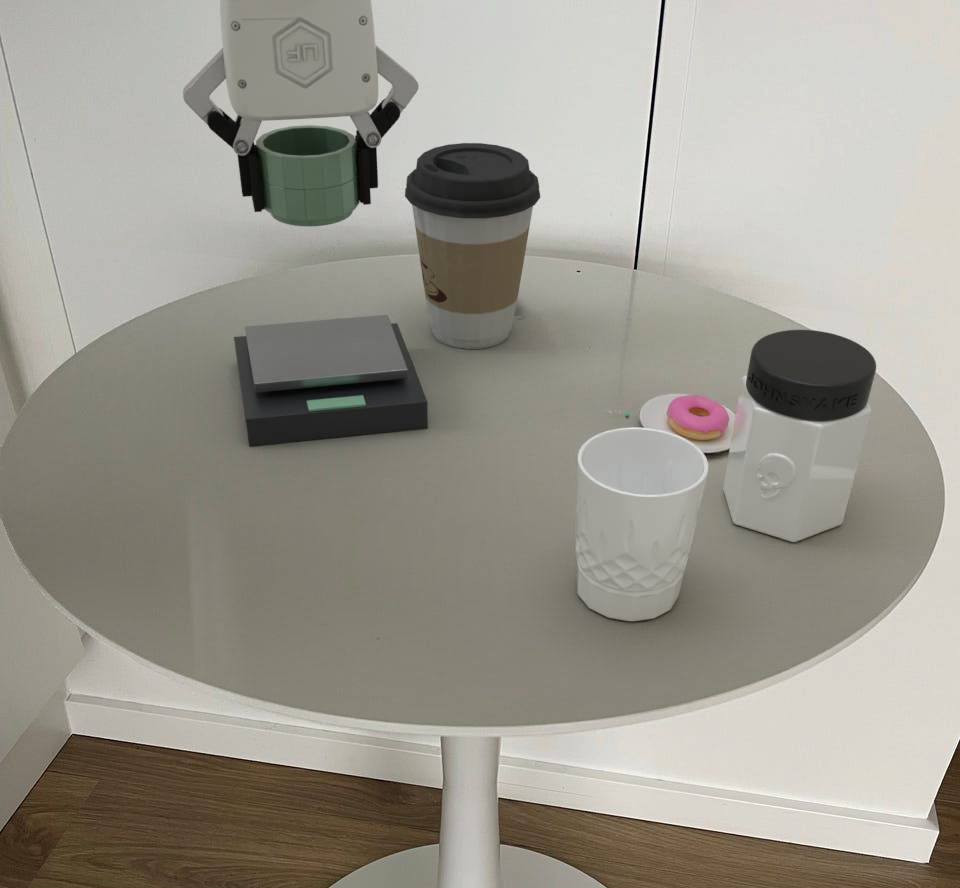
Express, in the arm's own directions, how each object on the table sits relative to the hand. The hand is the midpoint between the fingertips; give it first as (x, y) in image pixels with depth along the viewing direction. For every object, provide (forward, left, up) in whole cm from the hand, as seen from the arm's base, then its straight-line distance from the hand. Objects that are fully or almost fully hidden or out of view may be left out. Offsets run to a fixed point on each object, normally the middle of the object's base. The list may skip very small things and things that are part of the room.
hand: (311, 199), depth 86 cm
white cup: (+16, -30, -16) cm, 38 cm away
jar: (+30, -23, -16) cm, 41 cm away
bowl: (0, 0, -1) cm, 1 cm away
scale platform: (0, +1, -13) cm, 13 cm away
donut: (+26, -11, -16) cm, 33 cm away
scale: (0, 0, -16) cm, 16 cm away
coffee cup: (+14, +9, -16) cm, 24 cm away
